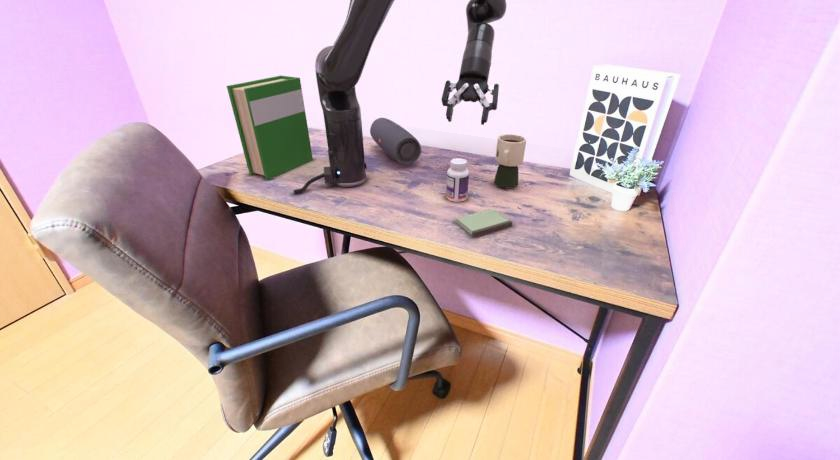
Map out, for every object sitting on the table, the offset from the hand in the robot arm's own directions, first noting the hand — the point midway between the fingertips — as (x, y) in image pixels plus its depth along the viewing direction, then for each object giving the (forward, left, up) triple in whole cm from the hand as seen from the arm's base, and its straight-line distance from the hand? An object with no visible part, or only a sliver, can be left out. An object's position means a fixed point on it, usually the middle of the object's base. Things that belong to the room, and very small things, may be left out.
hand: (465, 121), depth 94 cm
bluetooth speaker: (-16, +22, -16) cm, 31 cm away
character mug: (+10, -6, -16) cm, 20 cm away
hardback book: (-50, +20, -16) cm, 56 cm away
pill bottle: (-5, -10, -16) cm, 20 cm away
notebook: (-3, -24, -16) cm, 29 cm away
